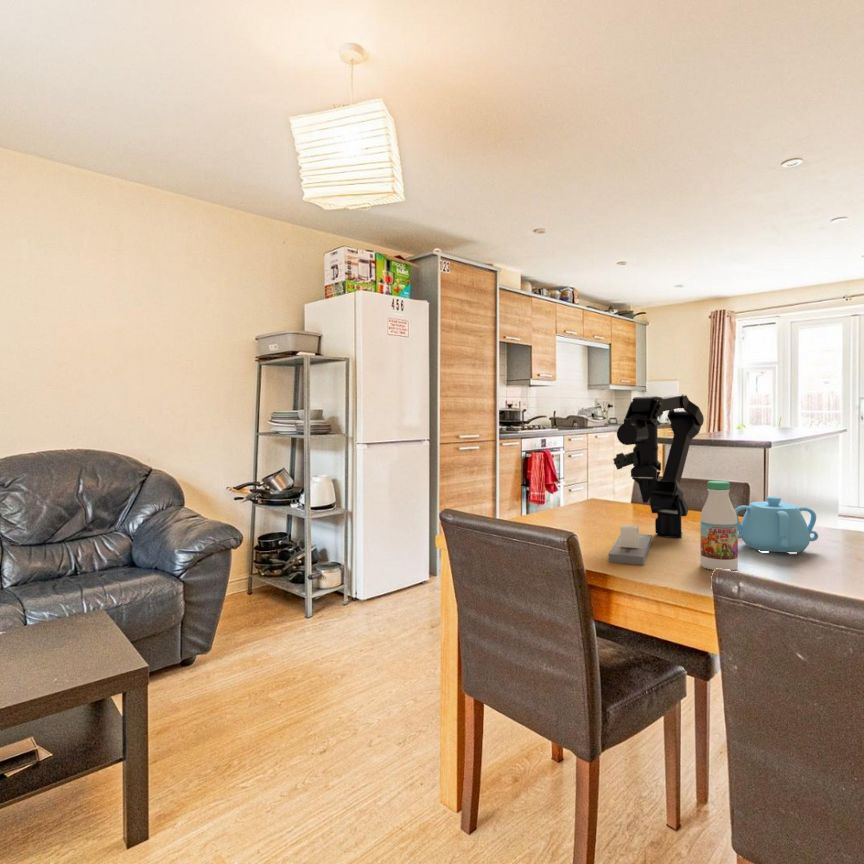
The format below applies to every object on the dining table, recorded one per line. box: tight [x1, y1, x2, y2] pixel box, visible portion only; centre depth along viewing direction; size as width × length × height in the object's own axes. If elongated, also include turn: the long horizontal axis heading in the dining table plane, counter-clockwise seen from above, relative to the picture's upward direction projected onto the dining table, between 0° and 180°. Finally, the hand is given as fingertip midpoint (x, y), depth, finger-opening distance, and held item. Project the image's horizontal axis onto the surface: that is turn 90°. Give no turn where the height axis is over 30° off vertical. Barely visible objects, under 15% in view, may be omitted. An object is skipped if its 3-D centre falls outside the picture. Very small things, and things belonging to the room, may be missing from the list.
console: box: [607, 533, 653, 566], centre depth 144 cm, size 8×24×2 cm, turn 154°
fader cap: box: [619, 524, 640, 548], centre depth 141 cm, size 4×3×5 cm
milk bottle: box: [699, 480, 739, 571], centre depth 128 cm, size 8×8×20 cm
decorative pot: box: [734, 496, 819, 553], centre depth 142 cm, size 16×16×14 cm
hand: (646, 499), depth 152 cm, fingers open, 9 cm apart
